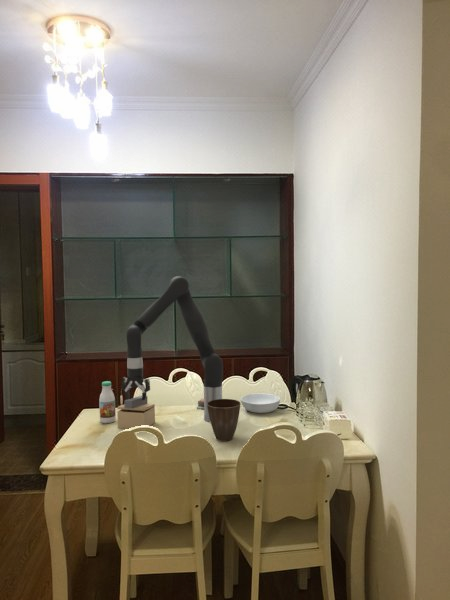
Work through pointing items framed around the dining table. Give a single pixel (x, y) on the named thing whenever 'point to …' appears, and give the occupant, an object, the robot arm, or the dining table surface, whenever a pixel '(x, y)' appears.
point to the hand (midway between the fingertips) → (136, 399)
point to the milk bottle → (107, 404)
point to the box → (135, 417)
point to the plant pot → (224, 417)
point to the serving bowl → (260, 402)
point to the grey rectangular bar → (134, 402)
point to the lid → (140, 408)
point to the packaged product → (201, 404)
